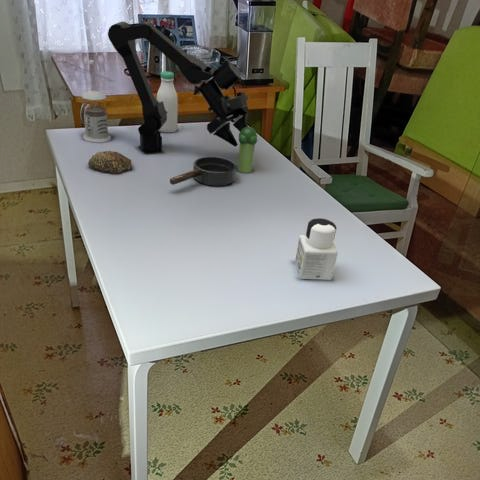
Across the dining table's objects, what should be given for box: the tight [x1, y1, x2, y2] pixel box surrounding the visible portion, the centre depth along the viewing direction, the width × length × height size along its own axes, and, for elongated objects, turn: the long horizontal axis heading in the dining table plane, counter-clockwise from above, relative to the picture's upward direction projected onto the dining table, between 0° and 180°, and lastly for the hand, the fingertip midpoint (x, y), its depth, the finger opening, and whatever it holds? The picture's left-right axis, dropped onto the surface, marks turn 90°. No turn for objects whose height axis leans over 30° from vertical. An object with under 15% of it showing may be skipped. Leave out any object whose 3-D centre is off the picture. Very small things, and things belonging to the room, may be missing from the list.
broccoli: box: [237, 126, 258, 174], centre depth 168 cm, size 7×7×14 cm
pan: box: [192, 156, 237, 187], centre depth 163 cm, size 13×13×4 cm
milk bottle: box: [156, 70, 179, 133], centre depth 191 cm, size 8×8×20 cm
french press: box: [79, 59, 112, 143], centre depth 175 cm, size 10×12×25 cm
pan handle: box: [169, 169, 202, 186], centre depth 154 cm, size 13×2×2 cm, turn 140°
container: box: [294, 217, 339, 281], centre depth 122 cm, size 8×8×13 cm
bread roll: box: [87, 150, 133, 175], centre depth 163 cm, size 13×12×5 cm
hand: (243, 142), depth 168 cm, fingers open, 9 cm apart
